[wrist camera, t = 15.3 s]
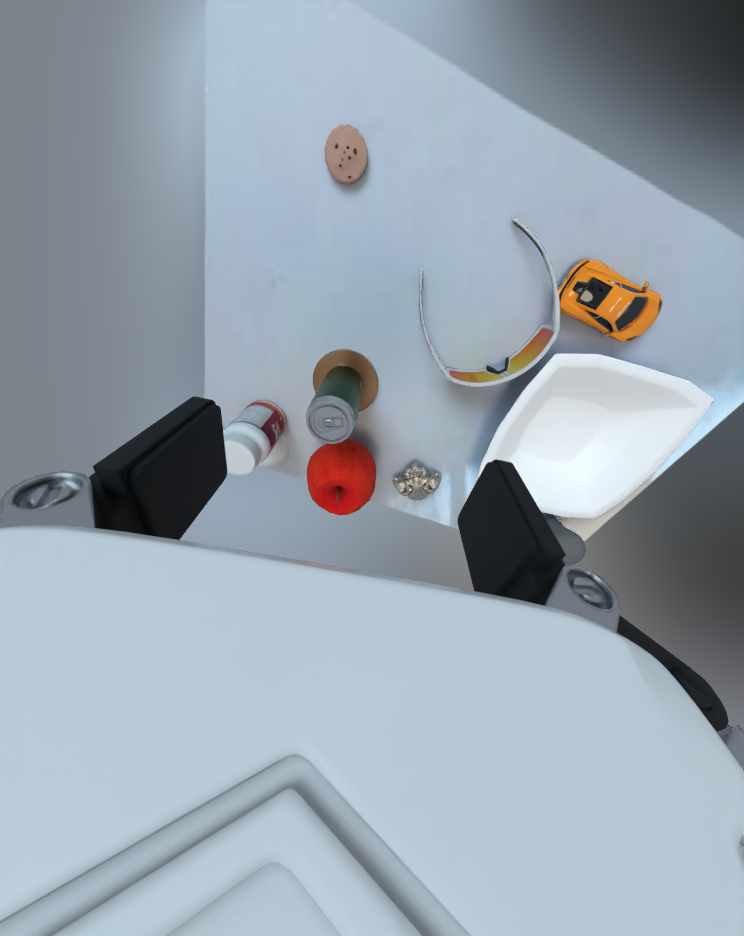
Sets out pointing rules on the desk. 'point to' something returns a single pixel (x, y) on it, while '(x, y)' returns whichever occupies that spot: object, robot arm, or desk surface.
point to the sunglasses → (521, 358)
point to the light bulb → (567, 540)
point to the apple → (341, 476)
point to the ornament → (417, 482)
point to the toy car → (608, 301)
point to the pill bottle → (252, 436)
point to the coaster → (353, 361)
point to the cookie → (346, 154)
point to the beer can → (335, 405)
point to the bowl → (594, 431)
